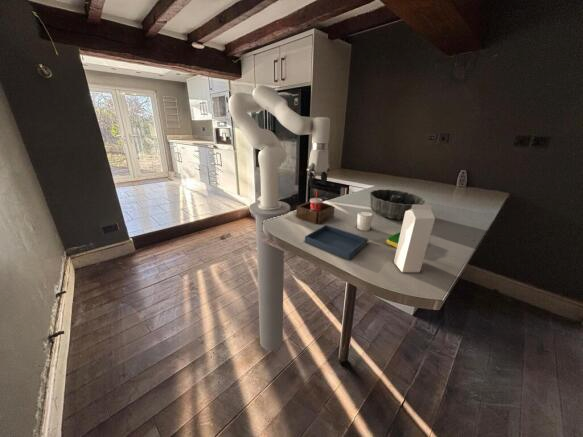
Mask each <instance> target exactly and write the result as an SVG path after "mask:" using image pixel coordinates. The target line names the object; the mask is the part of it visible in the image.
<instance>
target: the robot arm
mask: <svg viewBox="0 0 583 437" xmlns="http://www.w3.org/2000/svg"><path fill="white" fill-rule="evenodd" d="M228 111H229V114H230V116H231V118H232V120H233V122H234V123H235V124H236V125H237V127H238V128H239V129H240V131H241V133H242V134H243V135H244V137H245V138H246V140H247V141H248V143H249V144H250V146H251V147H252V148H253V149H256V150H260V151H259V152H258V155H257V161H258V165H259V173H260V174H259V175H260V196H258V198H257V200H256V201H257V202H259V201H260V204H259V205H258V206H259V208H260V209H262V210H268V211H272V210H278V209H280V208H281V204H280V203H279V201H280V200H279V199H280V197H279V196H280V195H279V194H280V190H279V189H280V188H279V187H280V180H279V179H280V174H279V170H278V165H282V164H283V163H285V162H286V160H287V155H288V154H287V151H286V149H285V147H284V146H283V144H282V143H281V141H280V140H279V138H278V137H277V135H276V134H275V133H274V132H273V131H272V130H271V129H267V128H261V127H260V126H259V125H258V123H257V122H256V120H255V119H254V118H253V117H252V116H251V113H253V114H256V113H259V112H263V111H267V112H268V113H270V114H271V115H273V117H275V118H276V120H277V121H278V122H279V123H280V125H282V126H283V127H284V128H285V129H287V130H288V131H289V132H291V133H292V134H295V135H298V136H304V135H305V136H306V135H311V150H310V152H309V154H310V155H309V159H308V167H307V168H306V172H307V176H308V186H309V187H313V188H315V187H316V176H317V174H320V183H322V184H327V182H328V175H329V170H330V166H331V164H329V147H330V133H331V132H330V130H331V119H330V118H329V117H327V116H316V117H312V116H304V115H303V116H302V115H300V114H298V113H297V112H295V111H294V110H293V109H292V108H291V107H289V105H288V101H287V99H285V98H284V97H282V96H281V95H280V94H279V92H278V90H276V89H275V88H274V87H271V86H267V85H264V84H260V85H256V87H254V89H253V91H252V94H251V93H246V92H234V93H232V94H231V96H230V97H229V99H228ZM249 113H250V114H249Z"/></svg>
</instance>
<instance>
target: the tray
mask: <svg viewBox="0 0 583 437" xmlns="http://www.w3.org/2000/svg"><path fill="white" fill-rule="evenodd" d="M368 240H369V238H367V237H363V236H361V235H358V234H355V233H351V232H348V231H346V230H342V229H339V228H336V227H333V226H330V225H327V224H325V225H322V226H321V227H320V228H317V229H316V230H314V231H312V232H310V233H308V234H307V235H305V236H304V243H306V244H309V245H311V246H313V247H317V248H319V249H321V250H323V251H326V252H327V253H331V254H333V255H336V256H338V257H341V258H342V259H346V260H348V261H349V260H351V259H352V258H353V257H354V256H356V254H358V253H359V252H360V251H361V250H362V249H363V248H364V247H365V246H367V245H368Z"/></svg>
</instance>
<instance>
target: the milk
mask: <svg viewBox="0 0 583 437" xmlns="http://www.w3.org/2000/svg"><path fill="white" fill-rule="evenodd" d="M432 207H433V206H432V204H423V205H418V204H414V205H412V209H411V210H407V211H405V215H404V219H402V224H401V230H400V232H401V233H400V237H399V242H398V246H397V248H396V249H395V250H396V251H395V256H394V259H393V263H394V264H395V265H396V267H397V268H398V269H399V271H400V272H402V273H420V272H421V270H422V266H423V262H424V259H425V257H426V256H425V255H426V252H427V249H428V246H429V242H430V239H431V235H432V231H433V228H434V225H435V220H436V217H435V215H434V213H433V211H432Z"/></svg>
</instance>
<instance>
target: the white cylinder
mask: <svg viewBox="0 0 583 437" xmlns="http://www.w3.org/2000/svg"><path fill="white" fill-rule="evenodd" d="M374 215H375V214H374V212H370V211H365V210H362V211H358V212H357V219H356V220H357V222H356V227H357V229H358V230H360V231H365V232H367V231H369V230H370V229H371V226H372V223H373V218H374Z"/></svg>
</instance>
